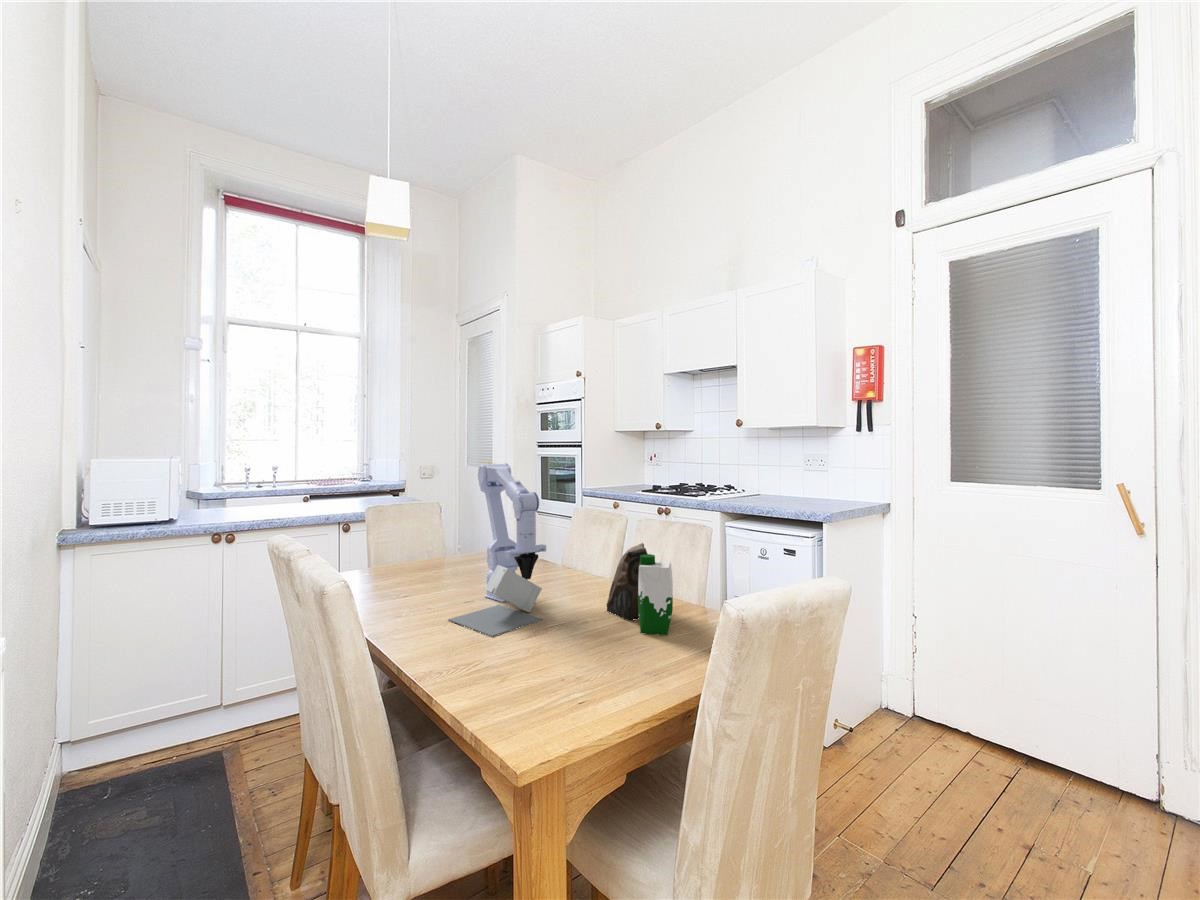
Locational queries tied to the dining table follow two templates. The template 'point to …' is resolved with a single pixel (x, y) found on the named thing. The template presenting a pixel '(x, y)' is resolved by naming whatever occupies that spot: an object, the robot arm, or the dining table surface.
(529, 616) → the mat
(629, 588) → the owl
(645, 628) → the milk carton
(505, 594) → the skincare box
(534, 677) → the dining table surface
